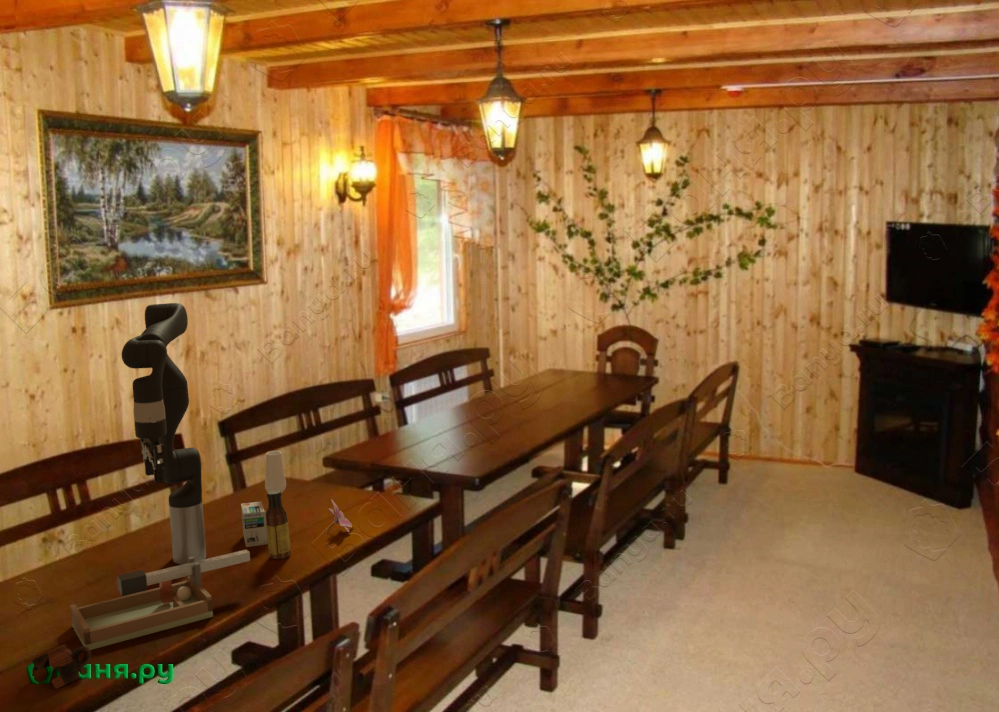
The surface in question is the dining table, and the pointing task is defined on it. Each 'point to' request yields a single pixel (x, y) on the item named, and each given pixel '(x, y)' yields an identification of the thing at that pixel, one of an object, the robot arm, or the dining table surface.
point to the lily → (340, 518)
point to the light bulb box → (254, 524)
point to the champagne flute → (274, 472)
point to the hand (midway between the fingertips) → (154, 478)
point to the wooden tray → (140, 613)
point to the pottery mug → (63, 663)
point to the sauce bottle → (277, 527)
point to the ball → (184, 593)
